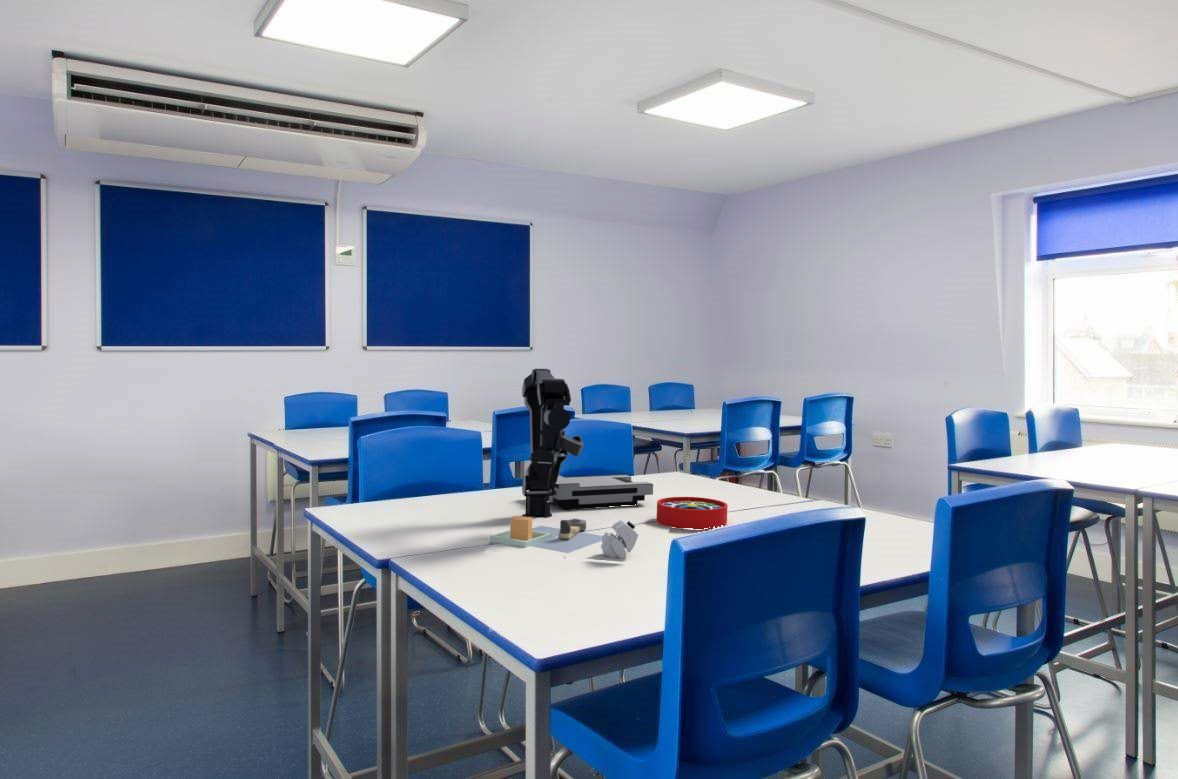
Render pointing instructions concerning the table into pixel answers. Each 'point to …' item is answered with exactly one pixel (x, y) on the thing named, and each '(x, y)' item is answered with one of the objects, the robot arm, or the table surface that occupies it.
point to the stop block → (521, 528)
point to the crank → (571, 527)
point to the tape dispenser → (619, 540)
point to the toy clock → (691, 512)
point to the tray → (502, 539)
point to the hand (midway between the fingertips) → (550, 485)
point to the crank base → (565, 540)
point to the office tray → (598, 491)
